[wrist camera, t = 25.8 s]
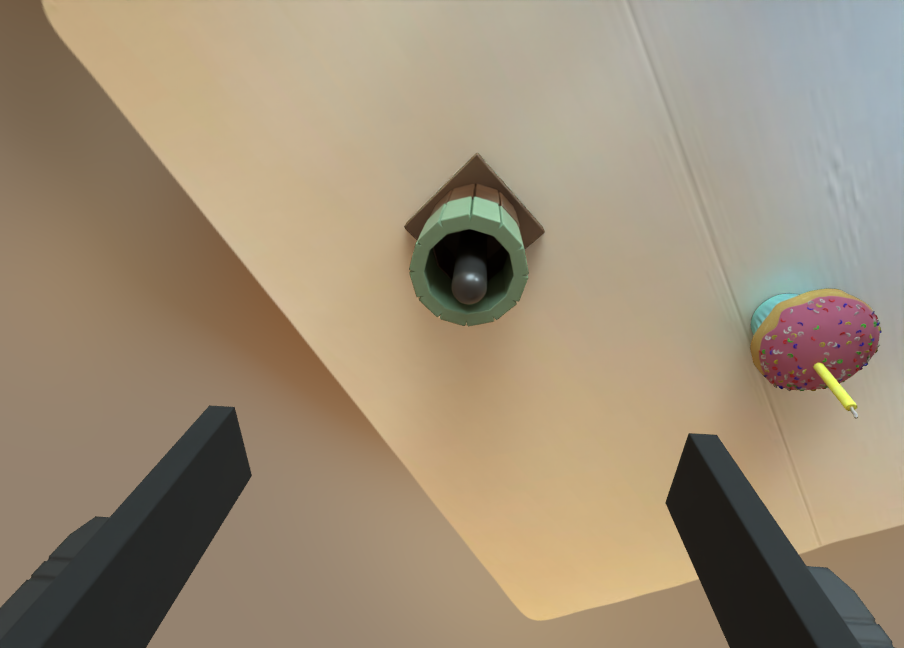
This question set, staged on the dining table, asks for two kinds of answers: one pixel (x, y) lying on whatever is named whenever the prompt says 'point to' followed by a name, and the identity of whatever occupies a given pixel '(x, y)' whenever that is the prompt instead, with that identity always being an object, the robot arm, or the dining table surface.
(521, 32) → the dining table surface
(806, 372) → the cupcake
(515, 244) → the sage ring
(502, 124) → the dining table surface
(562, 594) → the dining table surface
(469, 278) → the ring post
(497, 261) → the walnut ring
